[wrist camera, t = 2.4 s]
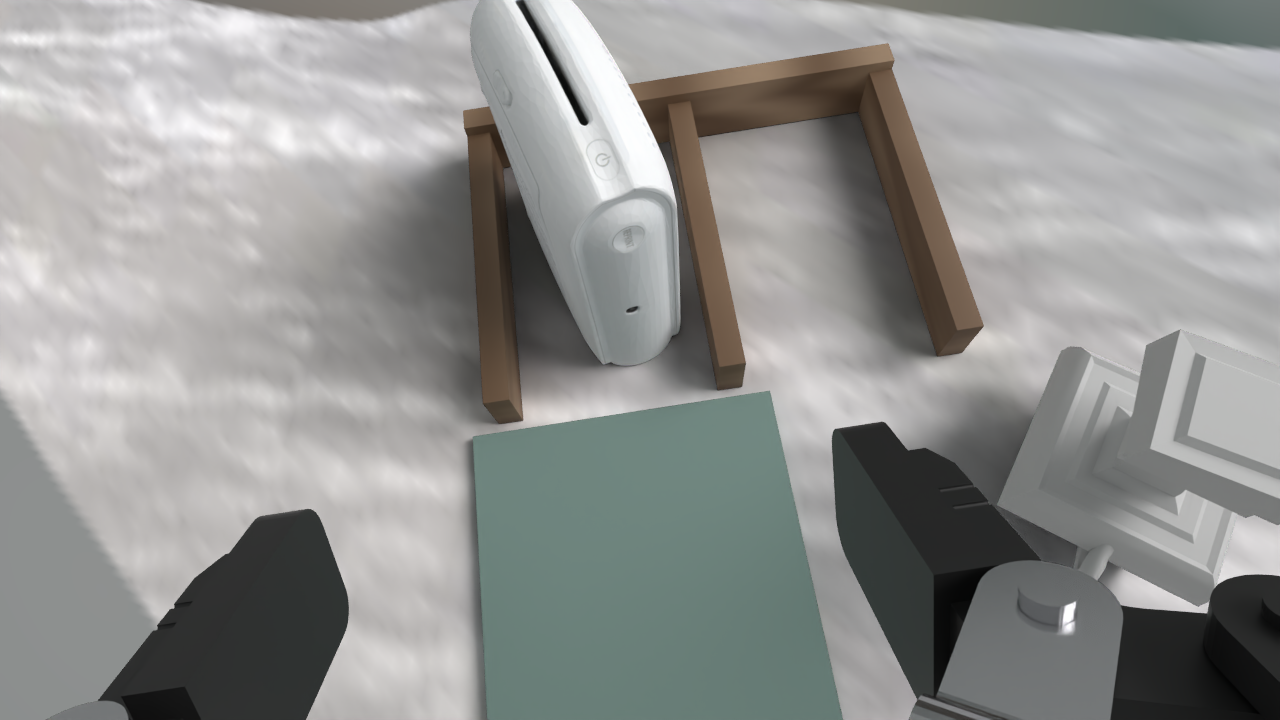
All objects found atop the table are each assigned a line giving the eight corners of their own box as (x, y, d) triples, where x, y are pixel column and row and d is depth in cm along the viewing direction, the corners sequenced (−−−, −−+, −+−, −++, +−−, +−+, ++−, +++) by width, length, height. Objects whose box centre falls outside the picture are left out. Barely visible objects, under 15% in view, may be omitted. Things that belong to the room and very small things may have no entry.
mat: (768, 394, 30) (769, 390, 30) (841, 721, 25) (843, 722, 25) (475, 439, 30) (472, 436, 30) (493, 773, 25) (490, 775, 25)
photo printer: (696, 345, 31) (695, 155, 20) (601, 386, 31) (546, 216, 19) (602, 165, 35) (557, -79, 24) (517, 199, 35) (430, -33, 23)
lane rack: (873, 92, 36) (888, 43, 33) (961, 352, 30) (988, 320, 27) (480, 154, 36) (463, 110, 33) (499, 424, 30) (479, 399, 28)
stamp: (1041, 350, 30) (1161, 237, 22) (1215, 426, 28) (1409, 332, 21) (960, 549, 27) (1064, 499, 20) (1147, 645, 26) (1342, 632, 18)
